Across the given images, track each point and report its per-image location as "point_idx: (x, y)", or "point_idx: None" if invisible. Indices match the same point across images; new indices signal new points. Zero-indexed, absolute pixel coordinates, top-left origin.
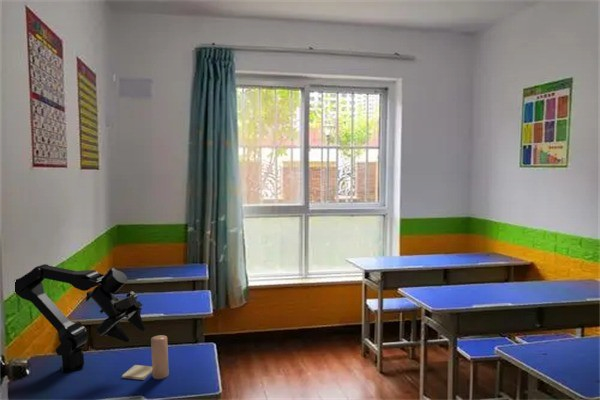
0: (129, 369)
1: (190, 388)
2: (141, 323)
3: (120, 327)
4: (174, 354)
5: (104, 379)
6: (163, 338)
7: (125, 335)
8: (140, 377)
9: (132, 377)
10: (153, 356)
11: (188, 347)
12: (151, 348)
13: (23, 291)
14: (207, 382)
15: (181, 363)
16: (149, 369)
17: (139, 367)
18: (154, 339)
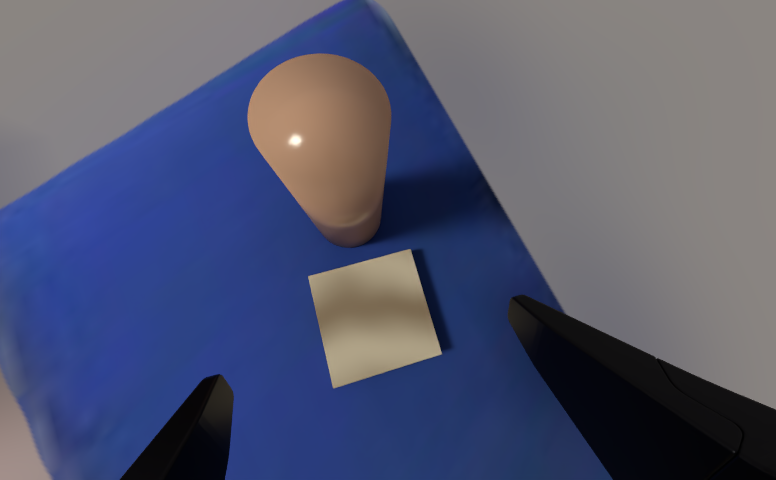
0: (382, 372)
1: (376, 66)
2: (163, 473)
3: (770, 468)
4: (137, 316)
5: (483, 420)
6: (310, 76)
7: (587, 335)
8: (414, 263)
9: (425, 301)
10: (384, 182)
11: (32, 310)
12: (374, 188)
13: None
14: (318, 42)
15: (216, 218)
16: (341, 282)
17: (345, 342)
18: (360, 129)
